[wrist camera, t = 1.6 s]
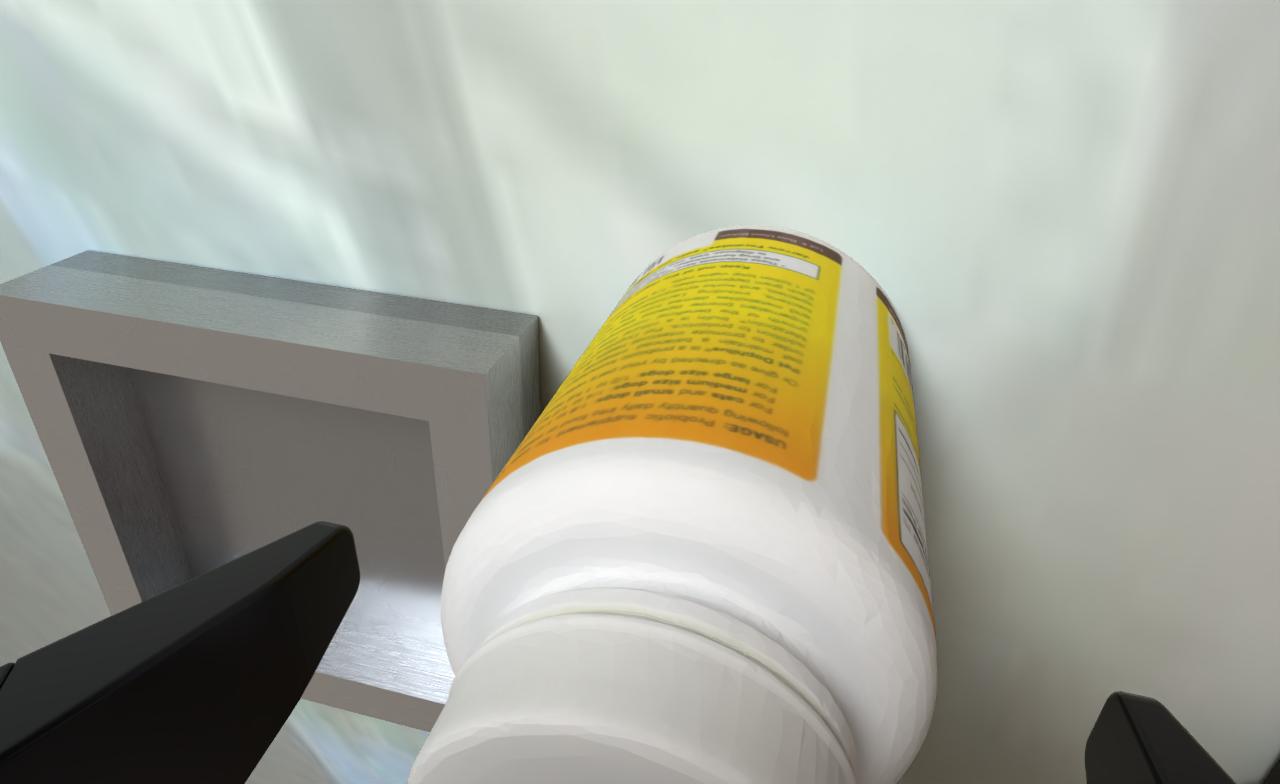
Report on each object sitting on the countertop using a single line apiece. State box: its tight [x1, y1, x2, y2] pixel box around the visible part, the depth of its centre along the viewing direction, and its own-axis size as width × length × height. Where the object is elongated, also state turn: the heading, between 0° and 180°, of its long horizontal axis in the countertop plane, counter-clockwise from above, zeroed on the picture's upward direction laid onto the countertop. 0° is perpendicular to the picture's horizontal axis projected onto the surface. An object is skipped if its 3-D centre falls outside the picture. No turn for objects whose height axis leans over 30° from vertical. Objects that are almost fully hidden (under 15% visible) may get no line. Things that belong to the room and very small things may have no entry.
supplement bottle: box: [407, 225, 937, 784], centre depth 11 cm, size 6×6×10 cm
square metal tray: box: [0, 250, 541, 732], centre depth 19 cm, size 11×10×3 cm
